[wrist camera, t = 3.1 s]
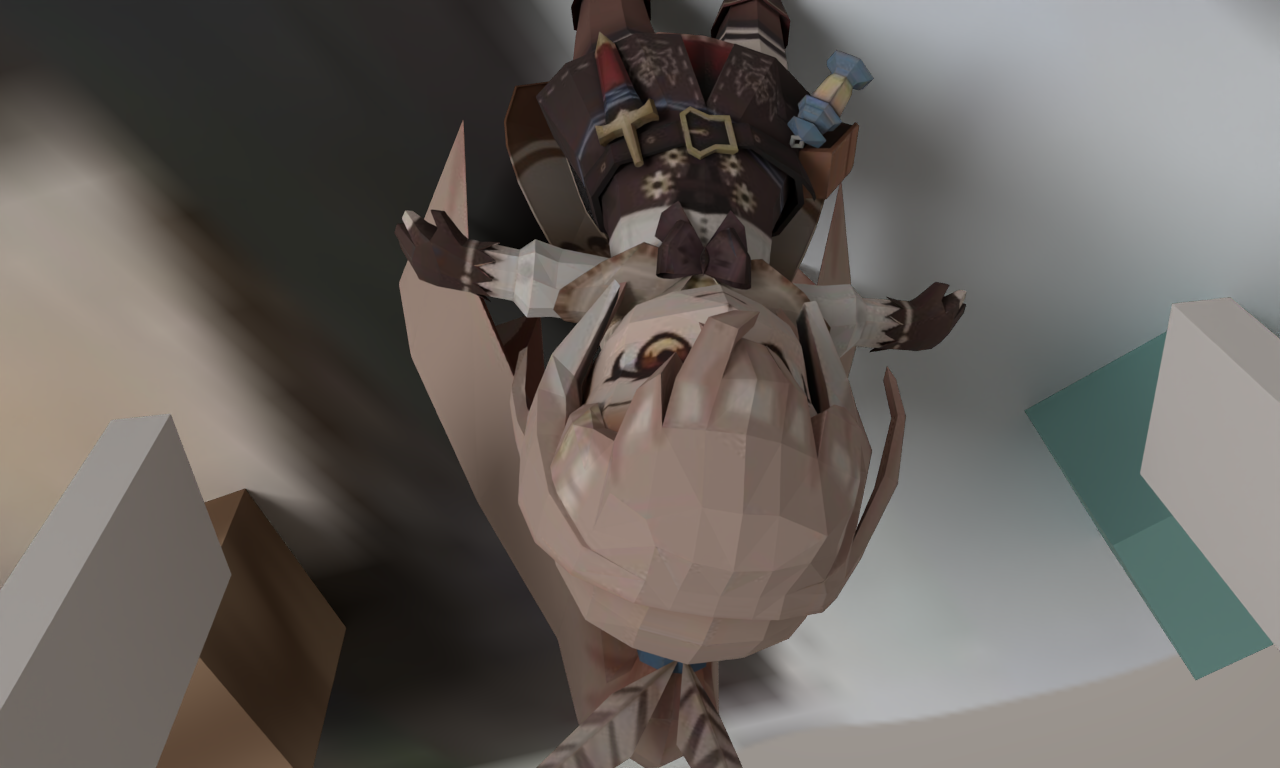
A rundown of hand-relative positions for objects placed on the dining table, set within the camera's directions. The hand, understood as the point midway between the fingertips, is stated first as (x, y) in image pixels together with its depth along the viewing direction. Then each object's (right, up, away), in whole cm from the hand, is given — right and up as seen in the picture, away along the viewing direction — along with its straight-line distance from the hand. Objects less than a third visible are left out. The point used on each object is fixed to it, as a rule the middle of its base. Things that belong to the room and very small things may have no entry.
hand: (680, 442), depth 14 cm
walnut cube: (-11, -4, +13) cm, 18 cm away
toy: (0, +5, +8) cm, 9 cm away
